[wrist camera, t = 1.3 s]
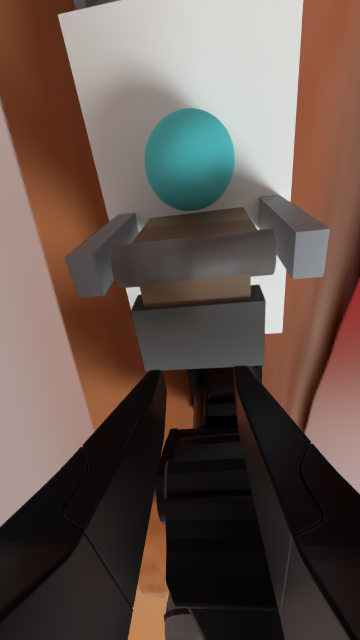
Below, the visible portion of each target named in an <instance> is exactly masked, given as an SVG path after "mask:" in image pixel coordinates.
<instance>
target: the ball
mask: <svg viewBox="0 0 360 640" xmlns="http://www.w3.org/2000/svg"><path fill="white" fill-rule="evenodd" d="M234 165H235V154H234V147H233V143H232V140H231V137H230V135H229V133H228V131H227V129H226V128H225V126H224V125H223V124H222V123H221V122H220V120H218V119H217V118H216V117H215V116H214V115H212V114H210V113H209V112H206V111H204V110H201V109H197V108H184V109H180V110H176V111H174V112H172V113H170V114H168V115H167V116H165V117H164V118H163V119H162V120H161V121H160V122H159V123H158V124H157V125H156V126H155V128H154V129H153V131H152V133H151V135H150V137H149V139H148V142H147V145H146V150H145V171H146V175H147V179H148V181H149V184H150V186H151V188H152V189H153V191H154V193H155V194H156V195H157V196H158V197H159V198H160V199H161V200H162V201H163V202H164V203H165V204H167V205H169V206H170V207H172V208H175V209H178V210H182V211H196V210H200V209H203V208H206V207H208V206H210V205H211V204H213V203H214V202H215V201H217V200H218V199H219V198H220V197H221V196H222V194H223V193H224V192H225V190H226V189H227V187H228V185H229V183H230V181H231V178H232V175H233V171H234Z"/></svg>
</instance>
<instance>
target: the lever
mask: <svg viewBox="0 0 360 640" xmlns="http://www.w3.org/2000/svg"><path fill="white" fill-rule="evenodd" d="M111 267H112V273H113V277H114V280H115V282H116V284H117V286H118V287H119V288H130V287H140V291H141V295H138V296H137V298H136V300H135V302H134V305H133V307H132V309H131V315H132V319H133V323H134V327H135V331H136V335H137V339H138V343H139V347H140V351H141V355H142V359H143V363H144V367H145V371H150V370H181V369H202V368H222V367H234V366H240V365H246V366H263V365H264V345H265V308H266V300H265V298H264V295H263V293H262V290H261V287H260V285H251V277H254V276H265V275H273V274H274V272H275V267H276V242H275V236H274V232H273V230H272V228H269V229H260V230H257V228H256V227H255V225H254V223H253V222H252V220H251V219H250V217H249V215H248V214H247V212H246V210H245V209H244V207H238V208H230V209H221V210H213V211H205V212H197V213H188V214H180V215H172V216H164V217H155V218H150V219H149V220H148V222H147V223H146V224H145V226H144V227H143V228H142V230H141V231H140V232H139V234H138V235H137V236H136V238H135V239H134V240H133V242H132V243H131V244H124V245H115V246H114V247H113V248H112V252H111Z"/></svg>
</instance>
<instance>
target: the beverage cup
mask: <svg viewBox="0 0 360 640" xmlns="http://www.w3.org/2000/svg"><path fill="white" fill-rule="evenodd" d="M164 621H165V640H203V639H202V636H201V634H200V632H199V630H198V628H197V626H196V624H195V622H194V620H193V618H192V616H191V614H190V612H189V610H188V608H177V607H176V606H175V605H174V603H173V600H172V597H171V594H170V593H169V597H168V602H167V608H166V613H165V615H164Z"/></svg>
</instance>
